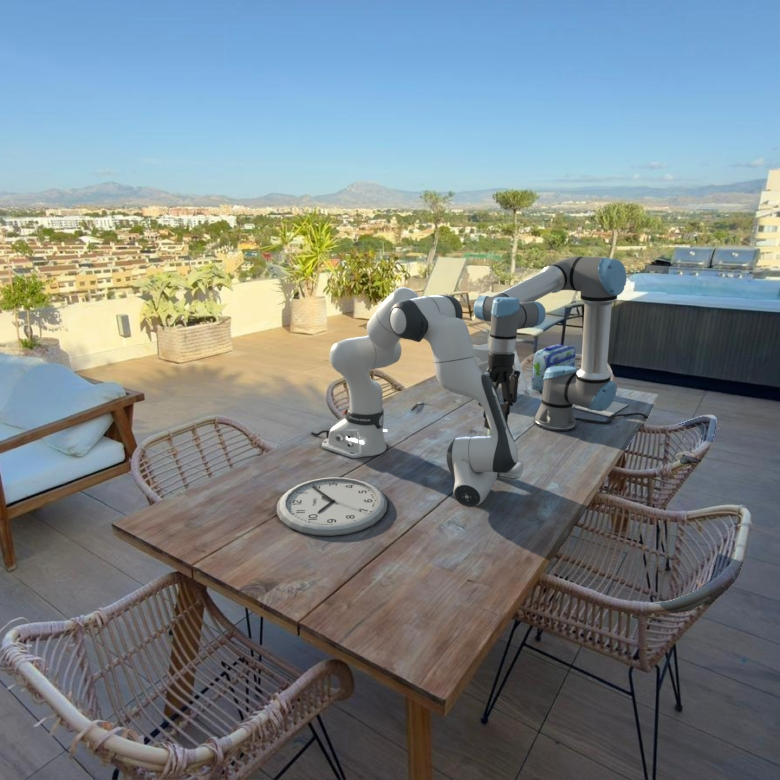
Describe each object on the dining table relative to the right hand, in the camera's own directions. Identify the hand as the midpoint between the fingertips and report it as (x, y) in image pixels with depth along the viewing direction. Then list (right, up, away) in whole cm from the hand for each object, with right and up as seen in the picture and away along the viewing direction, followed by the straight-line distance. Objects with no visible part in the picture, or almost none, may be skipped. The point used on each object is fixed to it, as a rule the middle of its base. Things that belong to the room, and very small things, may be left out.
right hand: (495, 426), depth 158 cm
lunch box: (+45, +11, +92) cm, 103 cm away
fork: (-21, +4, +64) cm, 68 cm away
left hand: (0, -9, +4) cm, 10 cm away
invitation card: (+59, +4, +68) cm, 90 cm away
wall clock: (-48, -20, -15) cm, 54 cm away
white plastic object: (+10, +10, +85) cm, 86 cm away
